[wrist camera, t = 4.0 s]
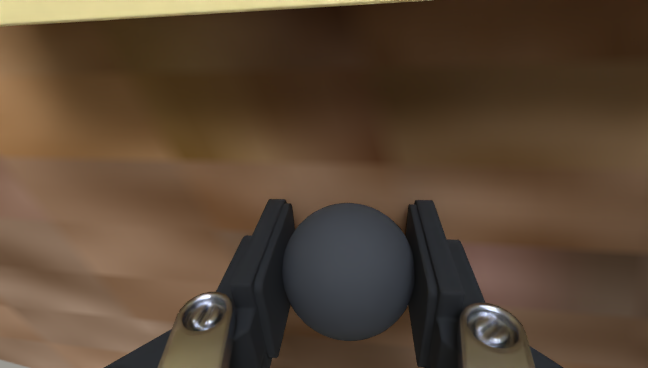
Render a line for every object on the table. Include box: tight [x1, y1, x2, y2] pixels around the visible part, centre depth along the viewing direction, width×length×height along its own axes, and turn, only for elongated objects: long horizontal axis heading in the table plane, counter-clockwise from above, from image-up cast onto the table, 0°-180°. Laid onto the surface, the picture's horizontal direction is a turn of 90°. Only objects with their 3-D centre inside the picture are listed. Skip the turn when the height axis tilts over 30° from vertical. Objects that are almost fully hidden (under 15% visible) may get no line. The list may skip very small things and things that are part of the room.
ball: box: [282, 203, 415, 341], centre depth 10 cm, size 4×4×4 cm
